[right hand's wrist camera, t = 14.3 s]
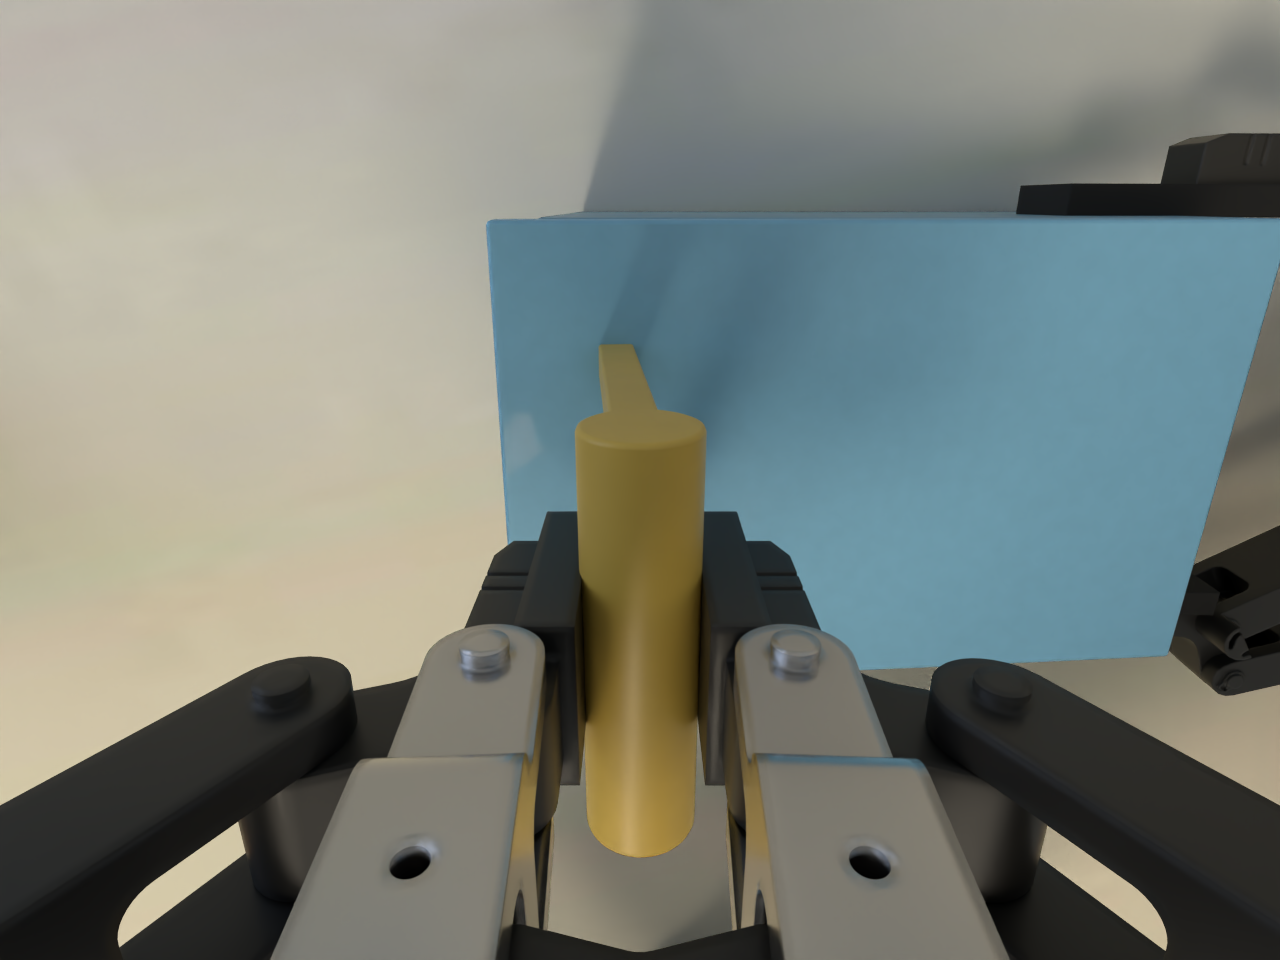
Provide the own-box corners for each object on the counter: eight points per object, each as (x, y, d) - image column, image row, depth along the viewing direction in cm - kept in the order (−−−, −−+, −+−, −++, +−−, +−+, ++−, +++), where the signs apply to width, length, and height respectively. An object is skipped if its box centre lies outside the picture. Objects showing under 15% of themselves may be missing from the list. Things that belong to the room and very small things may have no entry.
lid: (520, 662, 19) (479, 984, 11) (490, 218, 15) (399, 237, 7) (1139, 634, 20) (1493, 907, 12) (1250, 217, 16) (1858, 231, 8)
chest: (588, 485, 30) (554, 627, 20) (581, 211, 26) (536, 217, 16) (976, 488, 30) (1139, 633, 20) (1023, 211, 26) (1251, 217, 16)
